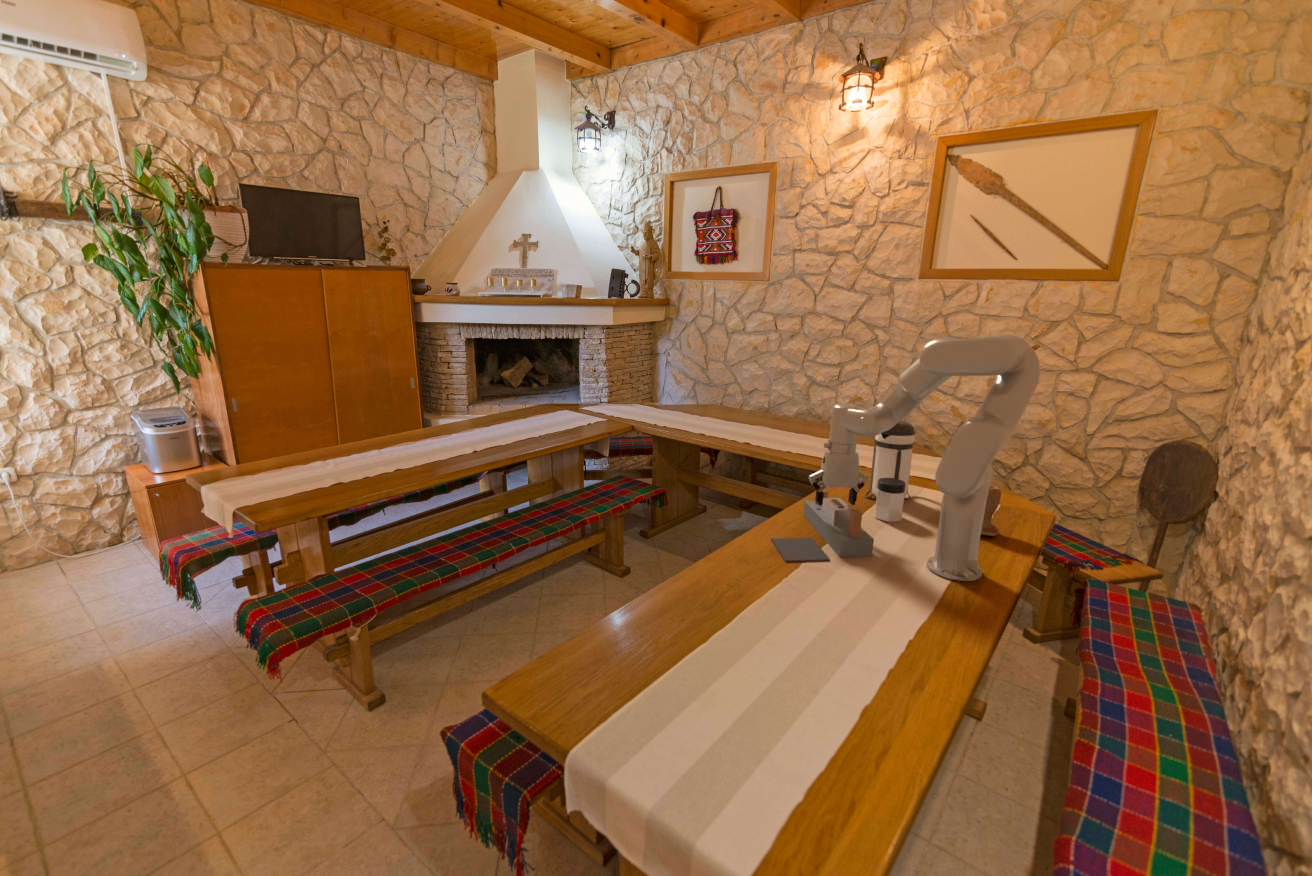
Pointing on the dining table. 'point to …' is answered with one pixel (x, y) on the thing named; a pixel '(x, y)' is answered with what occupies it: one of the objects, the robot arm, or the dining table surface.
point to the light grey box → (836, 511)
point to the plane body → (840, 531)
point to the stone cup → (991, 511)
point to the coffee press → (892, 455)
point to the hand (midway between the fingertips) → (835, 503)
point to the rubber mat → (799, 549)
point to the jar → (889, 499)
